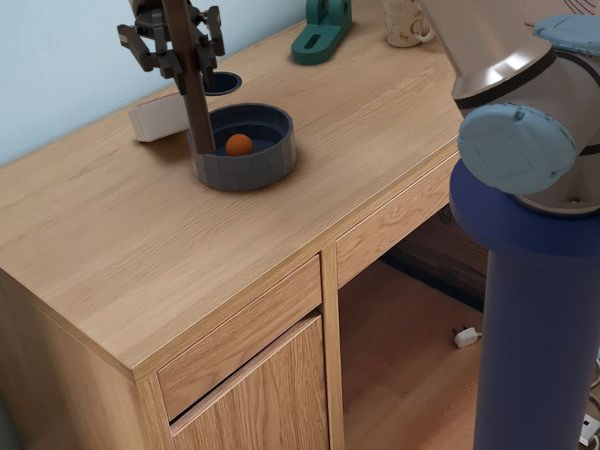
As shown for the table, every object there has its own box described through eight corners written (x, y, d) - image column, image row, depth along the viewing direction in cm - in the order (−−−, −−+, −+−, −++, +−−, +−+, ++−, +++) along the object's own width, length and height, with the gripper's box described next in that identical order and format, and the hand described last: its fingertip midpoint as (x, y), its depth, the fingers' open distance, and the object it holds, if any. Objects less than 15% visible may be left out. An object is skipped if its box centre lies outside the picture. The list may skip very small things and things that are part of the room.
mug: (405, 26, 149) (405, -26, 143) (453, 46, 141) (455, -8, 135) (372, 40, 146) (370, -12, 139) (419, 62, 137) (420, 7, 131)
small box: (173, 93, 126) (189, 88, 116) (184, 126, 127) (200, 125, 117) (125, 107, 123) (137, 104, 113) (136, 142, 124) (150, 141, 115)
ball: (239, 164, 118) (258, 161, 115) (219, 160, 115) (238, 158, 112) (240, 137, 118) (259, 135, 116) (220, 133, 115) (239, 130, 113)
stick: (220, 148, 97) (187, -18, 87) (205, 156, 95) (169, -12, 85) (206, 144, 98) (172, -19, 89) (190, 152, 97) (154, -13, 87)
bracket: (319, 21, 154) (316, -18, 150) (352, 23, 152) (350, -16, 147) (286, 63, 141) (282, 21, 137) (322, 66, 139) (319, 24, 134)
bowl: (318, 161, 116) (315, 126, 112) (236, 207, 108) (230, 171, 105) (253, 126, 125) (249, 92, 121) (174, 166, 118) (167, 132, 114)
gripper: (221, 20, 109) (268, 95, 91) (108, 44, 106) (133, 126, 88) (213, -34, 104) (260, 34, 86) (94, -11, 101) (118, 65, 83)
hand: (196, 80), depth 87 cm, fingers closed on stick, 3 cm apart
